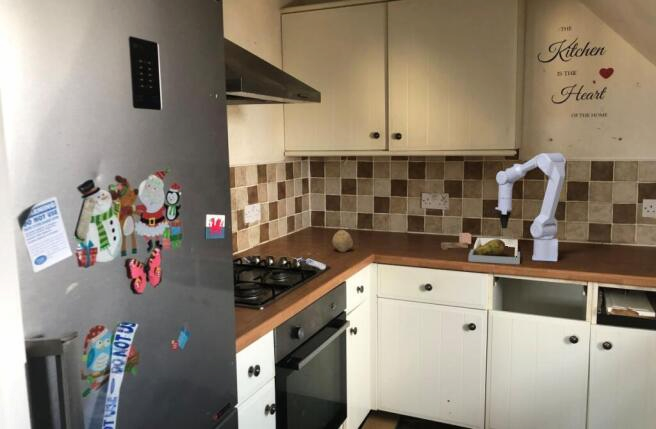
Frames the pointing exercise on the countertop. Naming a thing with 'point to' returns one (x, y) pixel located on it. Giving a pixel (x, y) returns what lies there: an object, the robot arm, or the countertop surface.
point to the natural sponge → (342, 241)
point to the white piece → (507, 241)
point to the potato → (490, 248)
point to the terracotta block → (465, 238)
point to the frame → (494, 258)
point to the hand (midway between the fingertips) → (504, 228)
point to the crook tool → (454, 245)
